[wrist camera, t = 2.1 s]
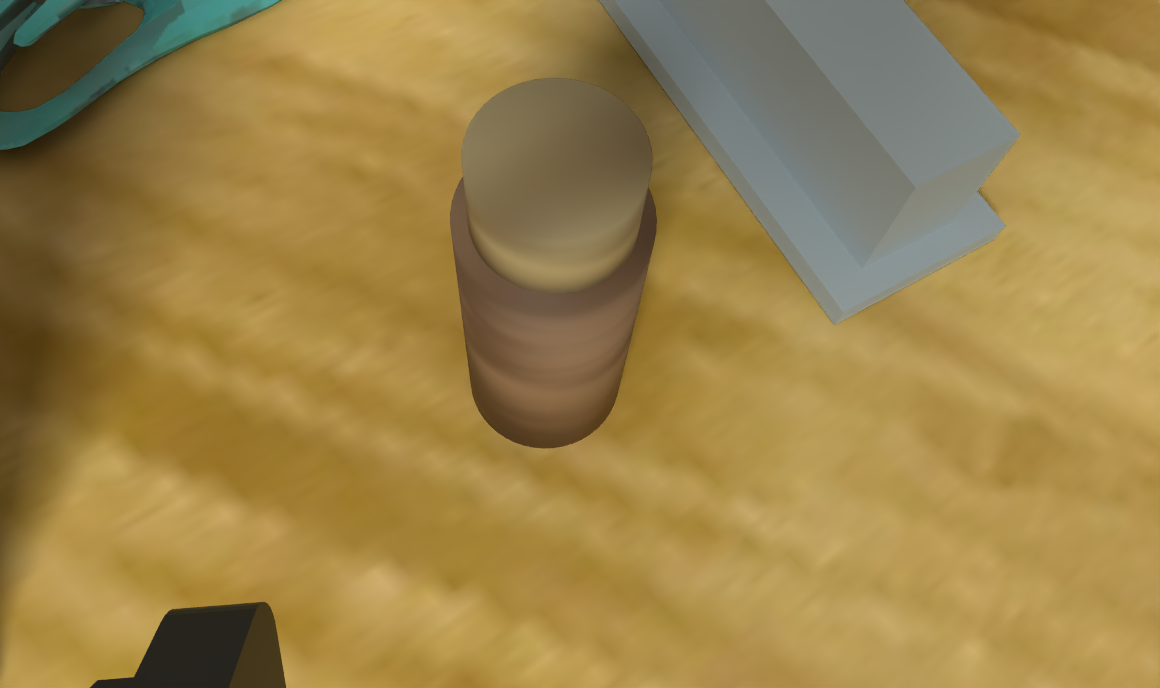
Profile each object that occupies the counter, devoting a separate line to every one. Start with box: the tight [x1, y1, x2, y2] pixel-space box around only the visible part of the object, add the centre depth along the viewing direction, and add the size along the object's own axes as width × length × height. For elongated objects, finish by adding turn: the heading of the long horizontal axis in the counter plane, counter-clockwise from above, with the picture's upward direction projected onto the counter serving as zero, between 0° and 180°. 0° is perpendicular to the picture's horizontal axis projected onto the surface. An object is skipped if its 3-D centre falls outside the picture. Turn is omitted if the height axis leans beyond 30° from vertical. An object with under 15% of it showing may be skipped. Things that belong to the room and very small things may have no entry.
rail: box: [599, 0, 1020, 325], centre depth 35 cm, size 20×7×6 cm, turn 30°
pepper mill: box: [450, 78, 657, 448], centre depth 27 cm, size 5×5×12 cm
